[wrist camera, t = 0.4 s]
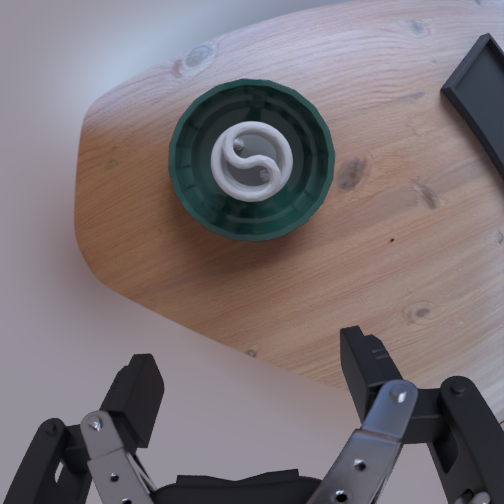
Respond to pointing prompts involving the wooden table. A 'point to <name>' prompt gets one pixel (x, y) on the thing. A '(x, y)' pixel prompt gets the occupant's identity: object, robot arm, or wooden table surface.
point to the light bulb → (251, 161)
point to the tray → (481, 95)
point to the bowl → (258, 110)
